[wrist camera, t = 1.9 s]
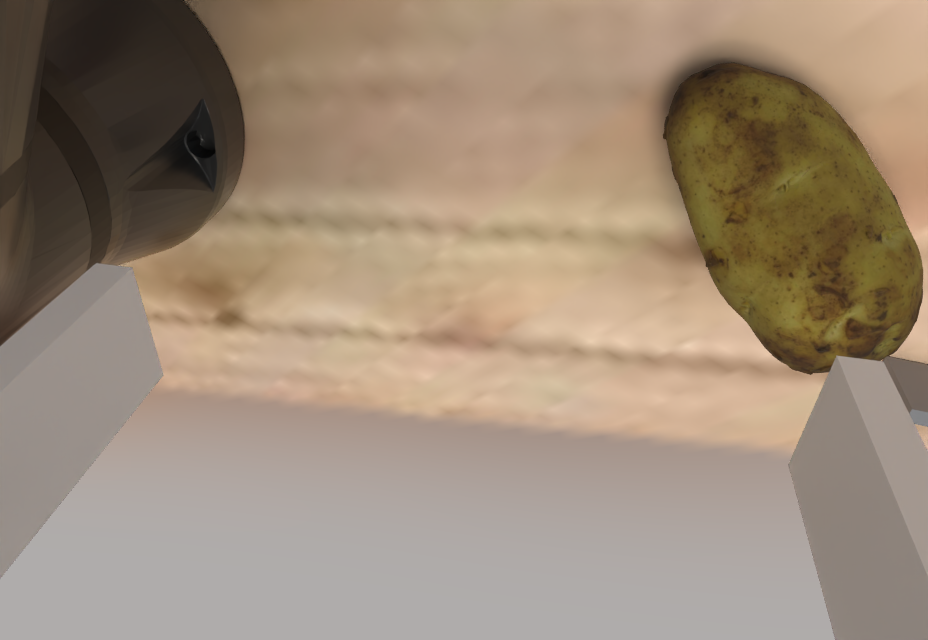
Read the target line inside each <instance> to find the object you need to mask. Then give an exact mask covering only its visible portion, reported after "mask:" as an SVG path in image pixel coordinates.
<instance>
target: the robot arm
mask: <svg viewBox="0 0 928 640" xmlns="http://www.w3.org/2000/svg"><path fill="white" fill-rule="evenodd" d="M243 151H244V131H243V121H242V114H241V109H240V105H239V101H238V97H237V94H236V90H235V87H234V85H233V82H232V79H231V76H230V74H229V72H228V69H227V67H226V65H225V63H224V61H223V59H222V57H221V55H220V53H219V51H218V49H217V48H216V46H215V44H214V43H213V41H212V39H211V38H210V36H209V35H208V33H207V32H206V30H205V29H204V27H203V26H202V25H201V23H200V22H199V21H198V19H197V18H196V17H195V16H194V14H193V13H192V12H191V11H190V10H189V8H188V7H187V6H186V5H185V4H184V3H183V2H182V1H181V0H0V578H1V577H2V576H3V575H4V573H5V572H6V571H7V570H8V569H9V567H10V566H11V565H12V564H13V562H14V561H15V560H16V558H17V557H18V556H19V555H20V554H21V552H22V551H23V550H24V548H25V547H26V546H27V545H28V543H29V542H30V541H31V540H32V539H33V537H34V536H35V535H36V534H37V532H38V531H39V530H40V529H41V527H42V526H43V525H44V524H45V522H46V521H47V520H48V519H49V517H50V516H51V515H52V514H53V512H54V511H55V510H56V509H57V507H58V506H59V505H60V504H61V502H62V501H63V500H64V499H65V497H66V496H67V495H68V494H69V492H70V491H71V490H72V489H73V487H74V486H75V485H76V484H77V482H78V481H79V480H80V478H81V477H82V476H83V475H84V474H85V472H86V471H87V470H88V469H89V467H90V466H91V465H92V464H93V462H94V461H95V460H96V459H97V457H98V456H99V455H100V454H101V452H102V451H103V450H104V449H105V447H106V446H107V445H108V444H109V442H110V441H111V440H112V439H113V437H114V436H115V435H116V434H117V433H118V431H119V430H120V429H121V427H122V426H123V425H124V424H125V423H126V421H127V420H128V419H129V418H130V416H131V415H132V414H133V413H134V411H135V410H136V409H137V407H138V406H139V405H140V404H141V403H142V401H143V400H144V399H145V398H146V396H147V395H148V394H149V393H150V391H151V390H152V389H153V388H154V386H155V385H156V384H157V383H158V381H159V380H160V379H161V378H162V376H163V372H162V368H161V365H160V361H159V358H158V354H157V351H156V348H155V344H154V341H153V337H152V334H151V330H150V327H149V324H148V320H147V317H146V313H145V310H144V306H143V303H142V299H141V296H140V293H139V289H138V286H137V282H136V279H135V275H134V272H133V269H132V268H131V267H123V266H117V265H120V264H123V263H127V262H130V261H133V260H136V259H139V258H142V257H145V256H148V255H152V254H155V253H158V252H161V251H164V250H167V249H169V248H172V247H174V246H176V245H178V244H180V243H181V242H183V241H185V240H186V239H188V238H190V237H191V236H192V235H194V234H195V233H196V232H197V231H199V230H200V229H201V228H202V227H203V226H204V225H205V224H206V223H207V222H208V221H209V220H210V219H211V218H212V217H213V216H214V215H215V214H216V213H217V212H218V211H219V210H220V209H221V208H222V207H223V206H224V204H225V203H226V201H227V200H228V199H229V197H230V195H231V193H232V192H233V190H234V187H235V185H236V183H237V180H238V177H239V174H240V170H241V166H242V160H243ZM788 466H789V470H790V473H791V477H792V480H793V484H794V488H795V492H796V495H797V499H798V503H799V506H800V510H801V514H802V518H803V522H804V525H805V529H806V533H807V536H808V540H809V544H810V547H811V551H812V555H813V558H814V562H815V566H816V569H817V574H818V577H819V581H820V584H821V588H822V592H823V596H824V600H825V603H826V607H827V611H828V614H829V618H830V622H831V625H832V629H833V633H834V637H835V640H928V451H927V449H926V447H925V445H924V443H923V441H922V439H921V437H920V435H919V433H918V431H917V429H916V427H915V425H914V423H913V420H912V418H911V416H910V414H909V412H908V410H907V408H906V406H905V404H904V402H903V400H902V398H901V396H900V394H899V392H898V390H897V388H896V386H895V384H894V382H893V380H892V378H891V376H890V374H889V372H888V370H887V368H886V366H885V364H884V362H883V361H875V360H867V359H859V358H851V357H843V356H836V358H835V360H834V363H833V365H832V367H831V370H830V372H829V374H828V376H827V379H826V381H825V383H824V385H823V388H822V390H821V392H820V394H819V397H818V399H817V401H816V403H815V406H814V408H813V410H812V412H811V415H810V417H809V419H808V421H807V424H806V426H805V428H804V431H803V433H802V435H801V437H800V440H799V442H798V444H797V446H796V449H795V451H794V453H793V455H792V458H791V460H790V462H789V464H788Z"/></svg>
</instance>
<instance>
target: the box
mask: <svg viewBox="0 0 928 640" xmlns="http://www.w3.org/2000/svg"><path fill="white" fill-rule="evenodd" d="M883 362H884V364H885V366H886V368H887V370H888V372H889V374H890V376H891V378H892V380H893V382H894V384H895V386H896V388H897V390H898V392H899V394H900V396H901V398H902V400H903V402H904V404H905V406H906V408H907V410H908V412H909V414H910V416H911V418H912V420H913V423H914V424H918V425H922V426H927V427H928V365H927V364H922V363H917V362H913V361H908V360H903V359H898V358H893V357H888V356H887V357H885V358H884V360H883Z"/></svg>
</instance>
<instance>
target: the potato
mask: <svg viewBox="0 0 928 640" xmlns="http://www.w3.org/2000/svg"><path fill="white" fill-rule="evenodd" d="M663 138H664V139H666V140H667V145H668V150H669V156H670V160H671V164H672V171H673V174H674V177H675V180H676V181H677V183H678V186H679V189H680V192H681V195H682V198H683V201H684V204H685V208H686V210H687V213H688V216H689V219H690V223H691V226H692V228H693V231H694V234H695V237H696V239H697V242H698V245H699V247H700V249H701V252H702V254H703V256H704V259H705V261H706V267H708V270H709V272H710V275H711V277H712V279H713V281H714V283H715V285H716V287H717V289H718V290H719V292H720V294H721V295H722V296H723V297H724V299H725V300H726V301H727V303H728V304H729V305H730V306H731V307H732V308H733V309H734V310H735V311H736V312H737V313H738V314H739V315H740V316H741V317H742V318H743V319H744V320H745V321H746V322H747V323H748V324H749V326H750V327H751V329H752V330H753V332H754V333H755V335H756V336H757V338H758V339H759V340H760V342H761V343H762V344H763V346H764V347H765V348H766V349H767V350H768V351H769V352H770V353H771V354H772V355H773V356H774V357H775V358H777V359H778V360H779V361H781V362H783V363H784V364H786V365H788V366H789V367H790V368H791V369H793V370H796V371H800V372H803V373H807V374H810V375H811V374H813V373H824V372H830V370H831V367H832V365H833V363H834V360H835V358H836V356H843V357H851V358H859V359H867V360H875V361H881V360H882V359H884V358H885V357H887V356H889V355H891V354H893V353H894V352H896V351H897V350H898V348H899V347H900V346H901V344H902V343H903V342H904V341H905V339H906V338H907V337H908V335H909V334H910V332H911V330H912V328H913V326H914V324H915V322H916V321H917V318H918V314H919V310H920V306H921V303H922V297H923V287H922V285H923V267H922V260H921V256H920V252H919V249H918V247H917V244H916V242H915V240H914V238H913V236H912V234H911V232H910V230H909V228H908V226H907V224H906V222H905V219H904V217H903V215H902V212H901V210H900V207H899V205H898V203H897V200H896V198H895V196H894V195H893V193H892V191H891V190H890V188H889V187H888V185H887V184H886V182H885V180H884V179H883V177H882V176H881V174H880V173H879V172H878V170H877V169H876V167H875V166H874V164H873V162H872V161H871V159H870V157H869V155H868V153H867V151H866V150H865V148H864V146H863V144H862V143H861V141H860V140H859V139H858V137H857V136H856V134H855V133H854V132H853V131H852V129H851V128H850V127H849V126H848V125H847V123H846V122H845V121H844V120H843V119H842V117H841V116H840V115H839V114H838V113H837V112H836V111H835V110H834V109H833V107H832V106H831V105H829V104H828V103H827V102H826V101H825V100H823V99H822V98H821V97H820V96H819V95H818V94H816V93H815V92H814V91H812V90H811V89H810V88H808V87H807V86H805V85H804V84H801V83H799V82H796V81H794V80H792V79H789V78H785V77H782V76H778V75H774V74H771V73H767V72H764V71H761V70H758V69H755V68H752V67H748V66H745V65H741V64H737V63H725V64H718V65H715V66H713V67H710V68H708V69H706V70H703V71H701V72H698V73H696V74H693V75H691V76H690V77H689V78H687V79H686V80H685V81H684V82H683V83H682V84H681V85H680V86H679V89H678V91H677V92H676V94H675V96H674V99H673V101H672V104H671V107H670V110H669V114H668V116H667V117H666V120H665V125H664V134H663Z"/></svg>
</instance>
